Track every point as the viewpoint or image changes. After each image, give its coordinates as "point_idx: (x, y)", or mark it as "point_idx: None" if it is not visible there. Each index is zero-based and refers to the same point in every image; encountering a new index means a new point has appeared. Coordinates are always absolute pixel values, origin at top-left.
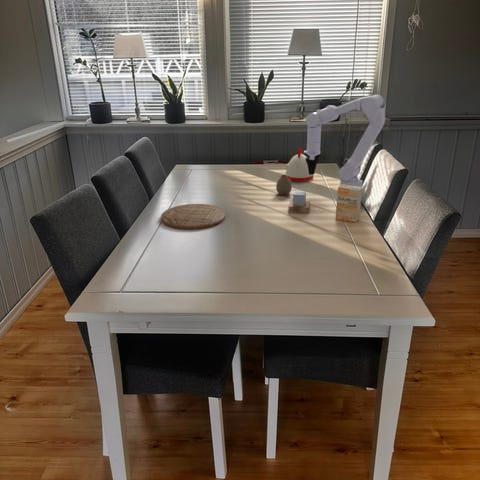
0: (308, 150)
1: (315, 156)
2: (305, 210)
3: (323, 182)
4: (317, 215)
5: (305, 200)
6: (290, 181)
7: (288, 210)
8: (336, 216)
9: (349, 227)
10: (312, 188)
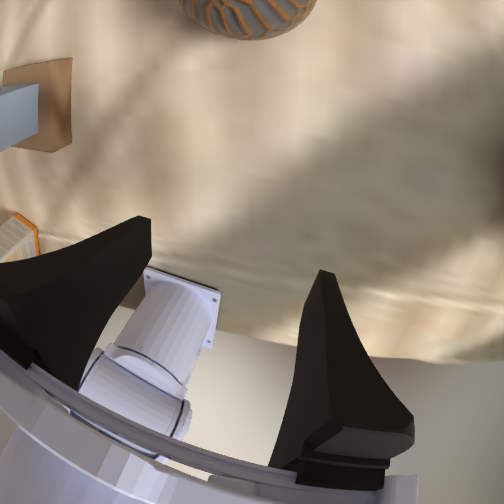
0: (6, 452)
1: (285, 442)
2: None
3: (460, 292)
4: (22, 166)
5: (28, 135)
6: (224, 22)
7: (16, 67)
8: (10, 219)
9: None
10: (380, 208)
